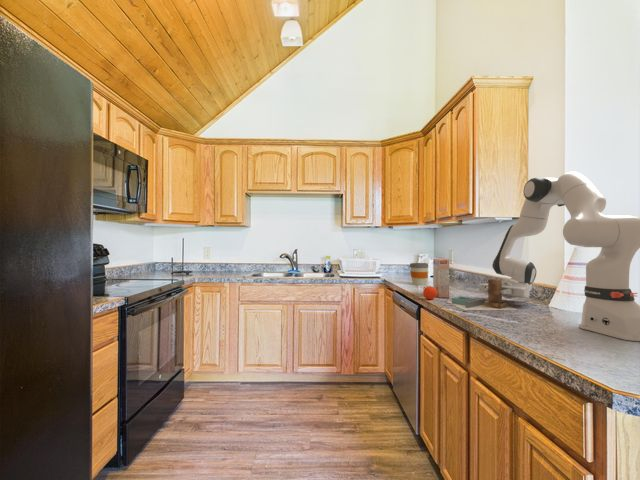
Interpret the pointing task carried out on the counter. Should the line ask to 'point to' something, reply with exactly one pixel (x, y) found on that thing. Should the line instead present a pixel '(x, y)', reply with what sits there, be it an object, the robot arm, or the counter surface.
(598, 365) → the counter surface
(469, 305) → the jamb board
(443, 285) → the cracker box
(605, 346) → the counter surface
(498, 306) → the keeper
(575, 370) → the counter surface
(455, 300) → the index socket
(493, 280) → the stop bar
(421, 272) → the reusable coffee cup
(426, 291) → the clementine
